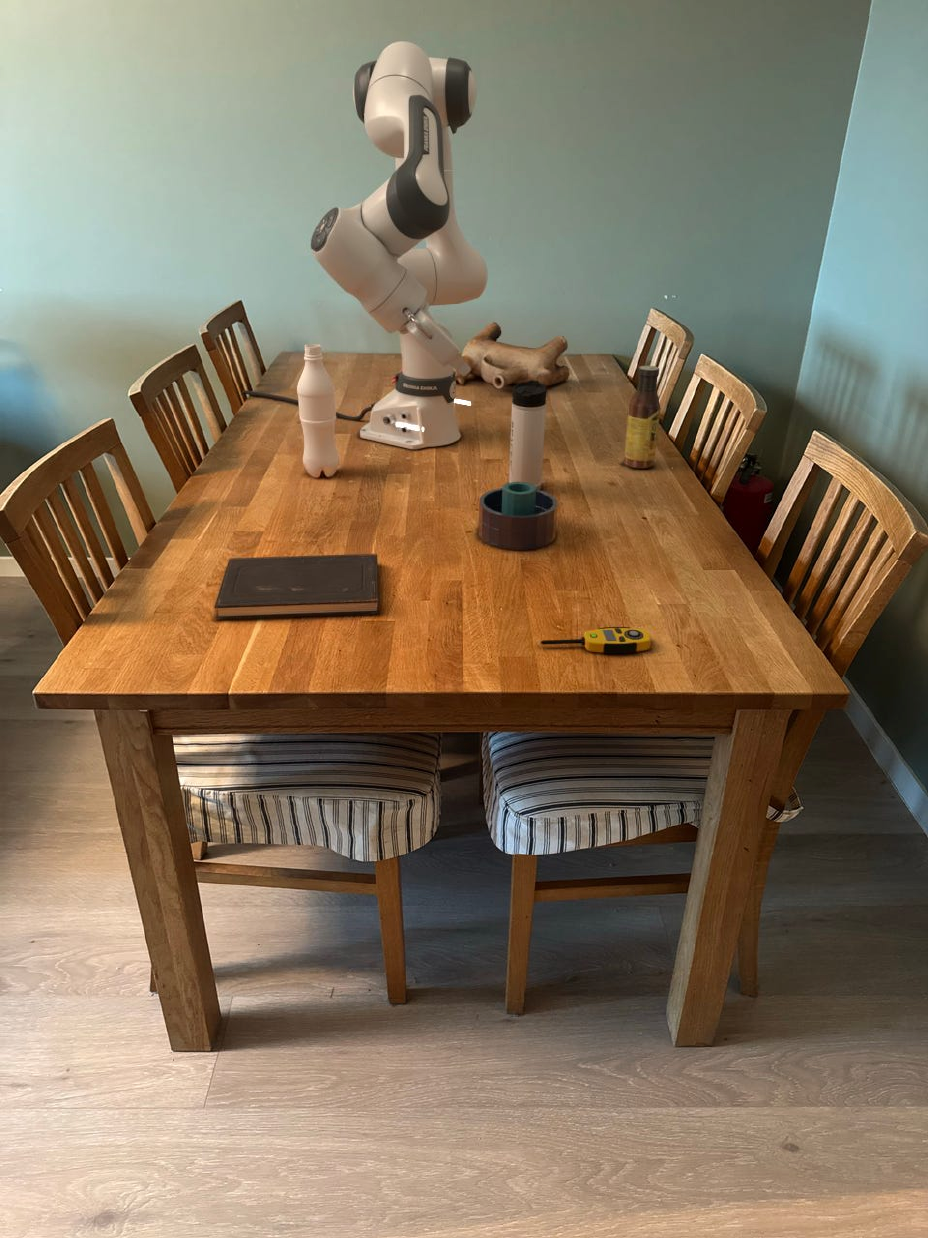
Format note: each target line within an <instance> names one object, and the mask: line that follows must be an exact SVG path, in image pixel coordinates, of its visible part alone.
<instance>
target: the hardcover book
mask: <svg viewBox="0 0 928 1238" xmlns="http://www.w3.org/2000/svg"><path fill="white" fill-rule="evenodd" d="M378 565H379V563H378V554H377V553H355V554H354V553H353V554H352V553H351V554H323V555H322V554H321V555H320V554H319V555H318V554H317V555H291V556H290V555H289V556H258V557H257V556H253V557H230V558H229V559H228V562H227V565H226V568H225V571H224V575H223V578H222V581H221V585H220V588H219V590H218V593H217V597H216V600H215V603H214V609H216V610H217V613H216V617H215V620H216V621H225V620H226V621H227V620H228V621H229V620H230V621H231V620H255V619H279V618H280V619H281V618H282V619H283V618H310V617H334V616H335V617H337V616H360V615H362V616H363V615H364V616H365V615H379V570H378V569H379V566H378Z"/></svg>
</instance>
